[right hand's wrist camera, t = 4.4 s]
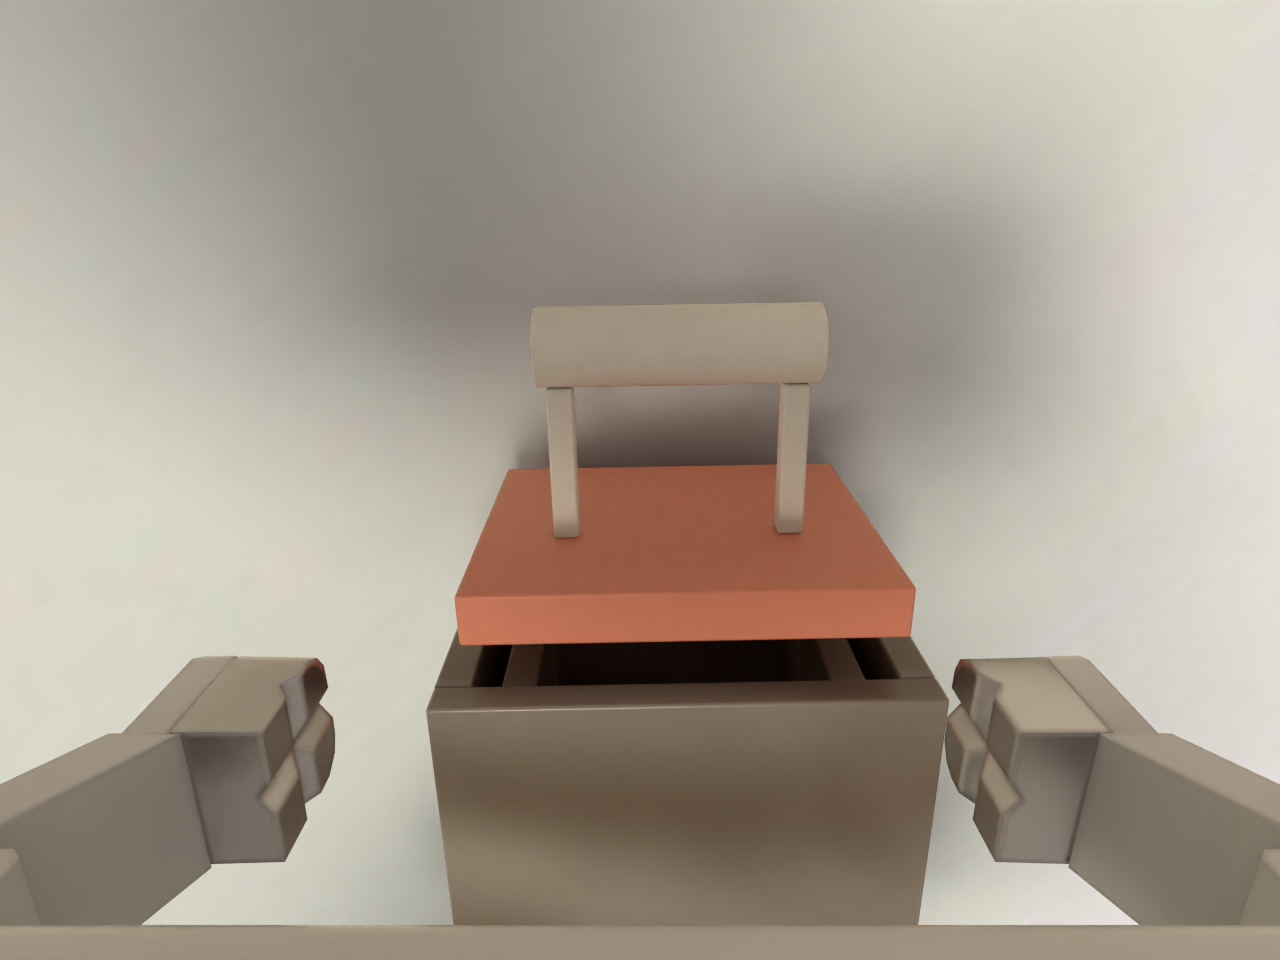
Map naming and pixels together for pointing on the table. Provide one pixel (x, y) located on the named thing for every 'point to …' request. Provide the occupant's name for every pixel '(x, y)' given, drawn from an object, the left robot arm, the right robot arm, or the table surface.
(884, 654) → the wooden drawer cabinet
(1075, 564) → the table surface
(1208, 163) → the table surface
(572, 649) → the drawer
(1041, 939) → the right robot arm
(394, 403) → the table surface
